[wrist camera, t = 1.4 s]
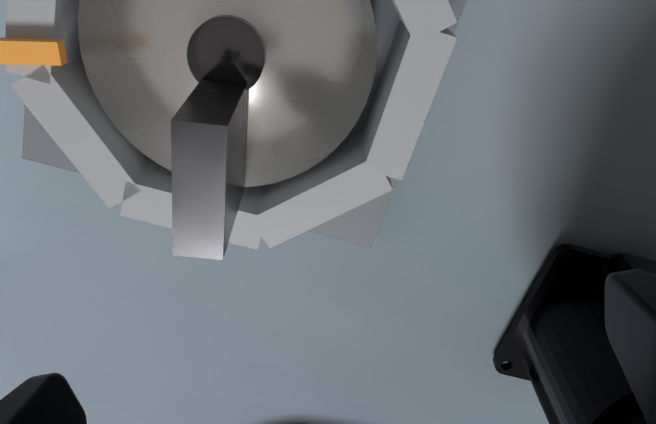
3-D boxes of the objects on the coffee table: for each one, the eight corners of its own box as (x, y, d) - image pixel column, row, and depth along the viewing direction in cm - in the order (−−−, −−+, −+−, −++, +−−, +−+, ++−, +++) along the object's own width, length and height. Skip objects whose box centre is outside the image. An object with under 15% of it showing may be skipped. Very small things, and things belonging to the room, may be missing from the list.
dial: (353, 173, 19) (362, 273, 14) (112, 148, 19) (28, 241, 14) (392, -94, 16) (425, -97, 10) (94, -133, 15) (-32, -156, 10)
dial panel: (369, 231, 22) (376, 294, 18) (38, 145, 20) (-25, 196, 17) (498, -113, 17) (545, -119, 13) (64, -266, 15) (-18, -321, 12)
